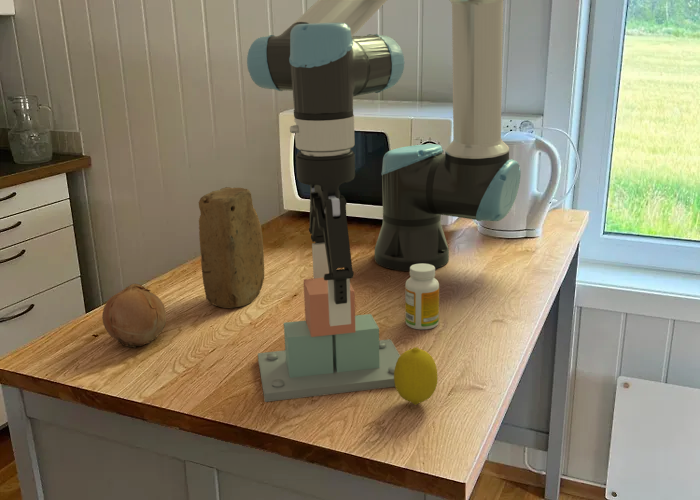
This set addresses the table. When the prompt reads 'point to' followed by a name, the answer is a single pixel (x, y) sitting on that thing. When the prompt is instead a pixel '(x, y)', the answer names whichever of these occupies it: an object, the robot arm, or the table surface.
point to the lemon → (415, 375)
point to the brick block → (323, 309)
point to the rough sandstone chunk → (230, 247)
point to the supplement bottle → (422, 297)
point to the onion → (134, 316)
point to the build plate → (326, 381)
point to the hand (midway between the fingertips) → (331, 303)
